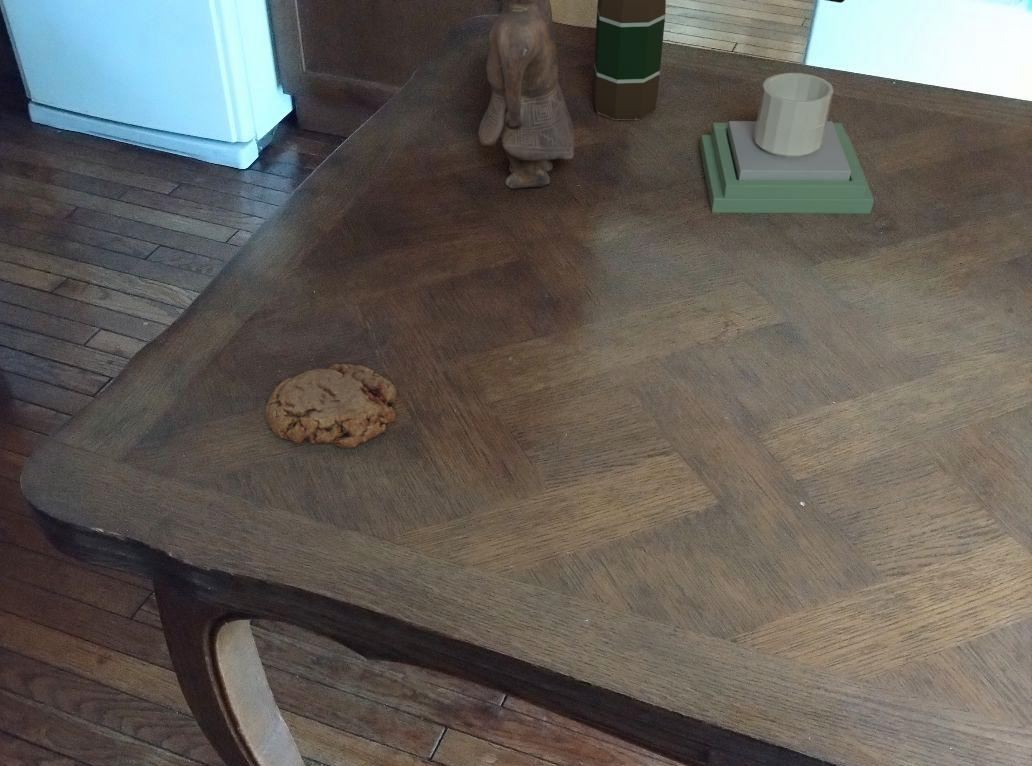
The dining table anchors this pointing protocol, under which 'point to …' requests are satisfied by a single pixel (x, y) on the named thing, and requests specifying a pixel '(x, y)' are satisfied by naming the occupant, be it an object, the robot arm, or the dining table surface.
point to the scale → (780, 184)
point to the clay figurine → (526, 94)
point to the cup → (793, 114)
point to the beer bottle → (628, 57)
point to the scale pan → (786, 158)
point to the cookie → (332, 406)
